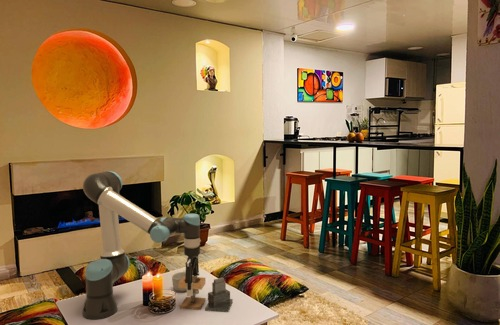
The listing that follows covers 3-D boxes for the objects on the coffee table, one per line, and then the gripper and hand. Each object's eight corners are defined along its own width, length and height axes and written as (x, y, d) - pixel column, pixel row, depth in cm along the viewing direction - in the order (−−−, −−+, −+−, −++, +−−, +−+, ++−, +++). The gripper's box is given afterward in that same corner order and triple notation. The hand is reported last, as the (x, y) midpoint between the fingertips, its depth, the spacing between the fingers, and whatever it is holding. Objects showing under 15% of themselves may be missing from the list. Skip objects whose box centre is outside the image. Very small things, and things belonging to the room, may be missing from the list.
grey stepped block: (205, 310, 182) (204, 282, 181) (210, 300, 192) (210, 274, 191) (228, 312, 180) (227, 283, 179) (232, 301, 191) (232, 275, 190)
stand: (179, 308, 184) (179, 282, 183) (186, 299, 194) (185, 274, 193) (200, 309, 182) (199, 283, 181) (205, 300, 192) (205, 275, 191)
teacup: (188, 294, 200) (188, 279, 200) (168, 292, 203) (168, 277, 202) (197, 284, 214) (197, 269, 213) (178, 282, 216) (178, 268, 216)
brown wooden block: (178, 288, 185) (178, 282, 184) (183, 282, 192) (183, 276, 192) (201, 289, 183) (201, 283, 183) (205, 283, 190) (205, 277, 190)
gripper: (193, 252, 175) (193, 301, 177) (205, 240, 195) (205, 284, 197) (177, 252, 176) (178, 300, 178) (190, 239, 196) (190, 283, 198)
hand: (192, 292), depth 188 cm, fingers closed on brown wooden block, 7 cm apart
